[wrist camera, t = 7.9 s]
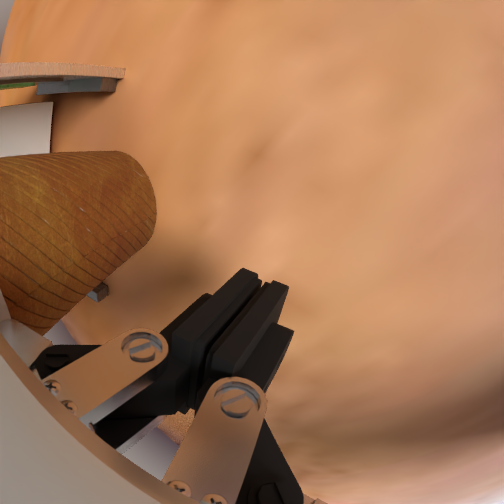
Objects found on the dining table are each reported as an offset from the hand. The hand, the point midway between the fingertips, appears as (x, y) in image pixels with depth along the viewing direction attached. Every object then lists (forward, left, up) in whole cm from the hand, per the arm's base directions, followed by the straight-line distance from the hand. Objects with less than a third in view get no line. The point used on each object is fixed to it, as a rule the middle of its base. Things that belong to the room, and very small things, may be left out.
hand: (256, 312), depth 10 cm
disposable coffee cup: (+11, 0, -4) cm, 11 cm away
